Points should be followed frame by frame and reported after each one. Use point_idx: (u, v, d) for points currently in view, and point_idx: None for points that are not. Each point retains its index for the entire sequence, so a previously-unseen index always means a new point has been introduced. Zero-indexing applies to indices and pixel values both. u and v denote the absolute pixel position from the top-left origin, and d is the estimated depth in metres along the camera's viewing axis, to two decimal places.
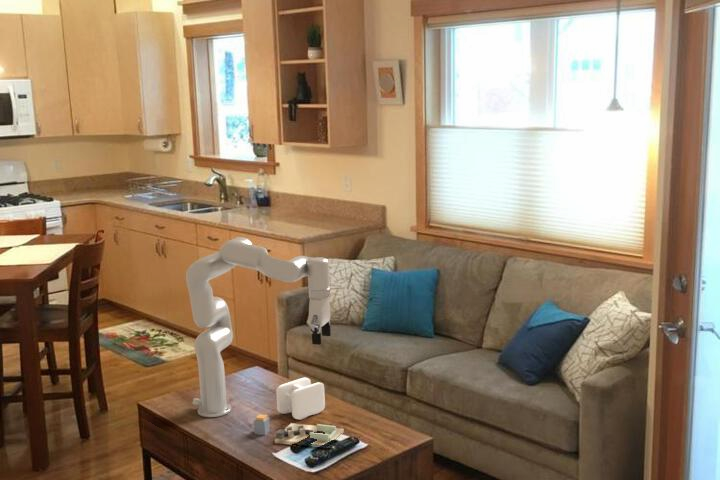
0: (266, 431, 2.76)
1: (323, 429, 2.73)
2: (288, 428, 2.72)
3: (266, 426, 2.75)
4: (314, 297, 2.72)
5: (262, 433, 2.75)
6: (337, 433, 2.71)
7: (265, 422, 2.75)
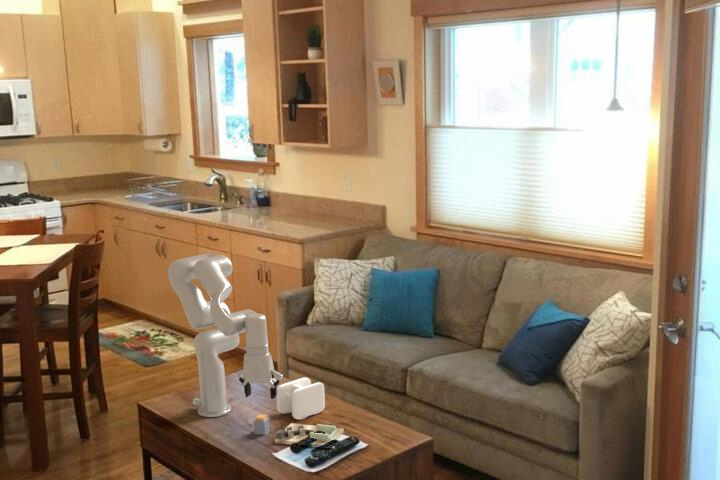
0: (266, 431, 2.76)
1: (323, 429, 2.73)
2: (288, 428, 2.72)
3: (266, 426, 2.75)
4: (266, 352, 2.70)
5: (262, 433, 2.75)
6: (337, 433, 2.71)
7: (265, 422, 2.75)
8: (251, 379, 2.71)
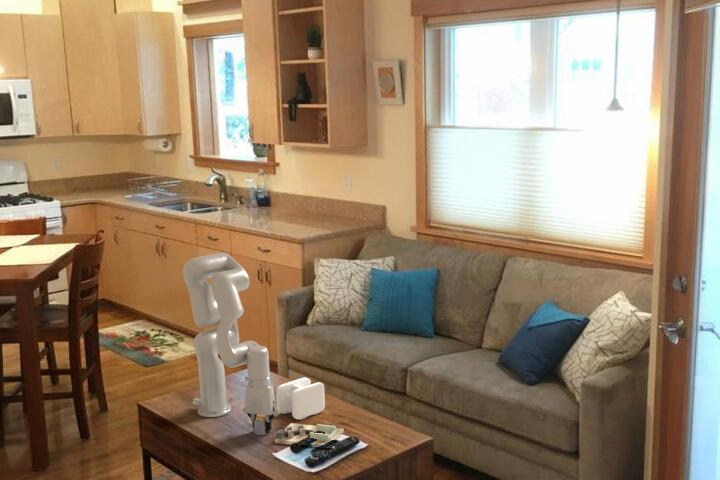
0: None
1: (323, 429, 2.73)
2: (288, 428, 2.72)
3: None
4: (268, 384, 2.72)
5: (262, 433, 2.75)
6: (337, 433, 2.71)
7: None
8: (252, 410, 2.74)
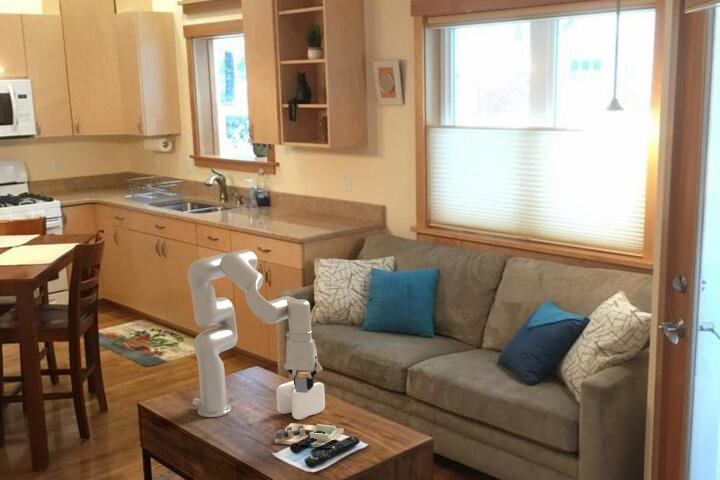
0: (307, 389, 2.67)
1: (323, 429, 2.73)
2: (288, 428, 2.72)
3: None
4: (310, 339, 2.64)
5: (303, 391, 2.66)
6: (337, 433, 2.71)
7: (306, 379, 2.66)
8: (294, 366, 2.65)
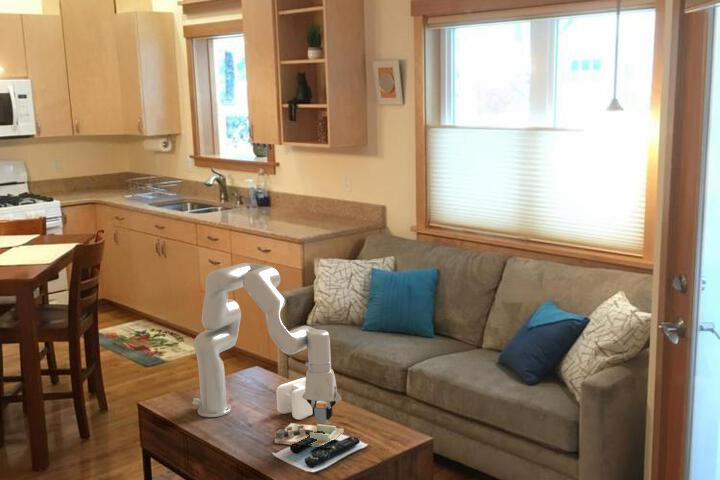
0: None
1: (323, 429, 2.73)
2: (288, 428, 2.72)
3: None
4: (329, 369, 2.64)
5: (323, 421, 2.66)
6: (337, 433, 2.71)
7: None
8: (313, 396, 2.65)
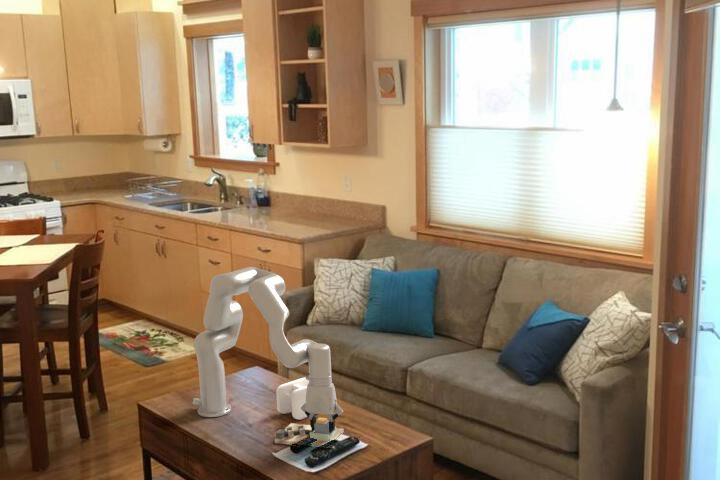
0: None
1: None
2: (288, 428, 2.72)
3: (326, 429, 2.68)
4: (330, 383, 2.65)
5: None
6: (337, 433, 2.71)
7: (326, 425, 2.67)
8: (313, 410, 2.66)
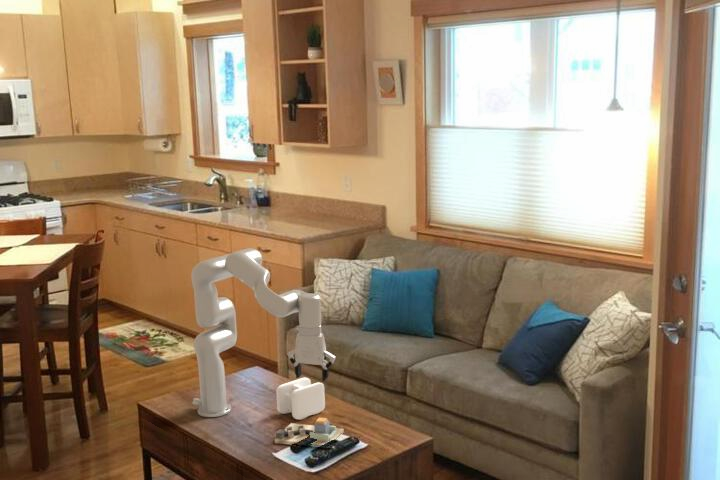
0: None
1: None
2: (288, 428, 2.72)
3: (326, 429, 2.68)
4: (320, 333, 2.64)
5: None
6: (337, 433, 2.71)
7: (326, 425, 2.67)
8: (303, 360, 2.66)
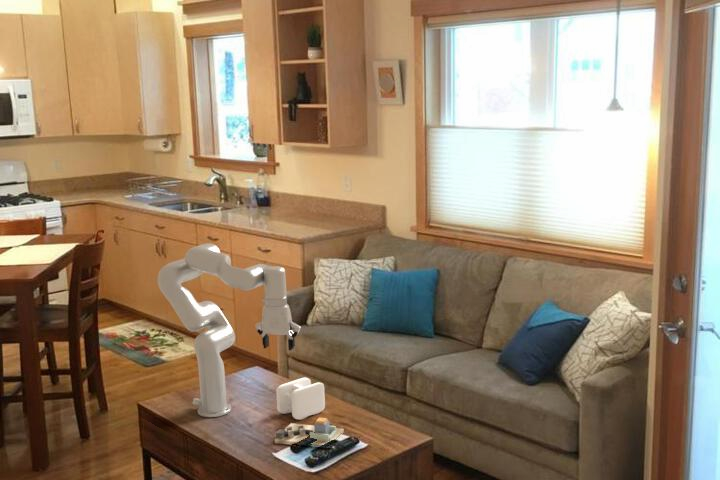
0: None
1: None
2: (288, 428, 2.72)
3: (326, 429, 2.68)
4: (285, 304, 2.75)
5: None
6: (337, 433, 2.71)
7: (326, 425, 2.67)
8: (269, 330, 2.76)
